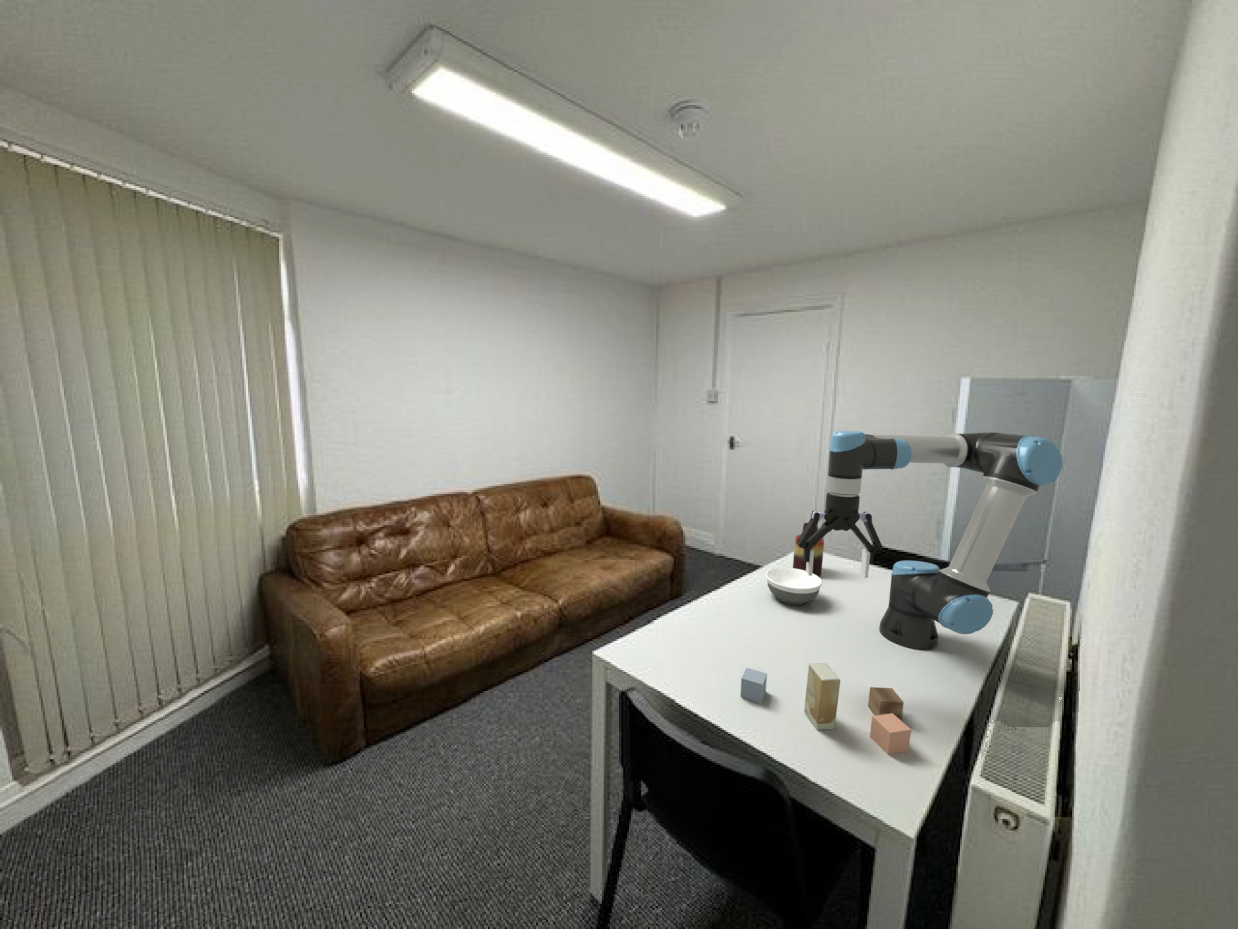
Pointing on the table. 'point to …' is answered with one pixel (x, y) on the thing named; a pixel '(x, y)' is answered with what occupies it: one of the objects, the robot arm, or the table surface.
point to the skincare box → (822, 696)
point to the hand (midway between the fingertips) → (836, 574)
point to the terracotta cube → (890, 733)
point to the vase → (818, 555)
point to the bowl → (793, 585)
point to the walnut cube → (885, 702)
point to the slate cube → (753, 685)
